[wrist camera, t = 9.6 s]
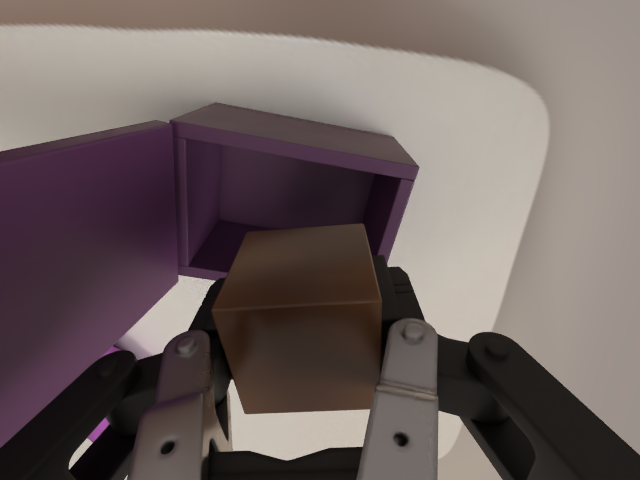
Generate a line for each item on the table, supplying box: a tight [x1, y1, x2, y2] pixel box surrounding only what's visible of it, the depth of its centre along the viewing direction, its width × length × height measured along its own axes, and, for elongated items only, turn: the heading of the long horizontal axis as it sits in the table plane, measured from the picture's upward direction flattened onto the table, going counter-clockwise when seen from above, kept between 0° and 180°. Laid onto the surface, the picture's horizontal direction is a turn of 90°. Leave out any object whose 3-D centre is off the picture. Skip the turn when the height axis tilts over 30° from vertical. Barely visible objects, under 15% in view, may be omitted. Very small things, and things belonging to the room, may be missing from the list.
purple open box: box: [170, 103, 419, 281], centre depth 19 cm, size 11×8×7 cm
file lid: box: [0, 120, 178, 448], centre depth 10 cm, size 12×8×1 cm
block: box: [211, 224, 382, 414], centre depth 11 cm, size 4×4×4 cm
